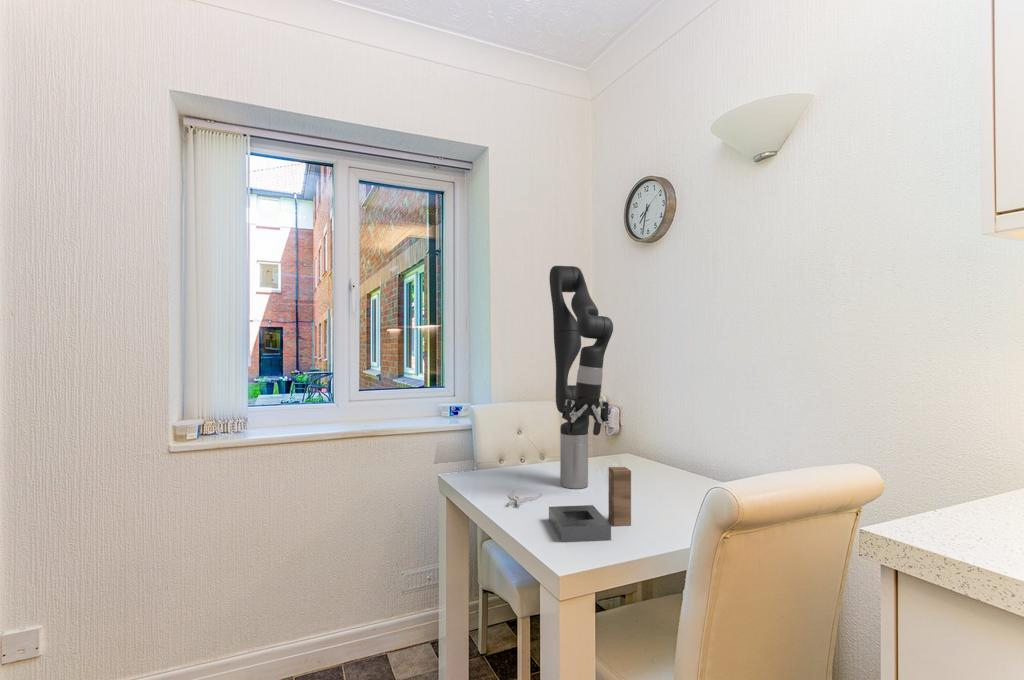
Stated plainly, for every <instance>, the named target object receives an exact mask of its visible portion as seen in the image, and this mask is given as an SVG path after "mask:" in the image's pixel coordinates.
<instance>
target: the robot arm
mask: <svg viewBox="0 0 1024 680" xmlns="http://www.w3.org/2000/svg"><path fill="white" fill-rule="evenodd" d="M548 277H549V288H550V289H549V291H550V296H551V297H550V298H551V304H552V319H553V342H554V343H553V345H554V358H555V405H556V409H557V411H558V412H559V413H560V414H561V415H562V416H561V418H562V419H564V420H565V421H566V422H564V423H562V424H561V425H560V435H559V436H560V438H559V442H560V443H559V444H560V447H559V448H560V449H559V450H560V455H559V457H560V461H559V465H560V466H559V467H560V468H559V469H560V473H559V477H560V478H559V481H560V482H559V483H560V486H561V487H563V488H567V489H584V488H587V487H588V486H589V428H590V427H589V426H590V416H591V417H592V418H593V420H594V422H593V431H592V433H593V436H599V434H600V433H601V429H602V423H604V422H606V423H607V422H608V419H609V402H607V401H605V400H601V401H600V398H601V392H602V384H603V377H604V376H603V374H604V373H603V367H604V360H605V358H604V357H605V352H606V350H607V348H608V346H609V343H610V341H611V338H612V335H613V334H614V333H613V332H614V324H613V321H612V319H611V318H610V317H608V316H605V315H604V316H603V315H599V309H598V307H597V305H596V304H595V302H594V301H593V299H592V297H591V295H590V292H589V290H588V286H587V282H586V279H585V277H584V274H583V272H582V269H581V268H579V267H577V266H572V265H553V266H552V267H551V269H550V270H549V276H548ZM563 293H574V294H573V296H572V298H571V302H570V305H571V309H572V312H573V314H572V312H571V311H570V309H569V308H568V306H567V304H566V302H565V298H564V295H563ZM574 315H575V316H574ZM575 317H576V318H575ZM582 338H584V339H591V340H592V339H593V340H595V342H594V343H593V344H592V345H588V346H583V347H582ZM579 353H580V354H579ZM578 355H579V356H580V357H579V364H578V370H577V375H576V383H575V385H574V384H573V385H569V384H568V382H569V380H568V379H569V373H570V370H571V368H572V366H573V363H574V362H575V360H576V358H577V356H578ZM598 408H600V413H599V412H598Z"/></svg>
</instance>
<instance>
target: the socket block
mask: <svg viewBox="0 0 1024 680" xmlns="http://www.w3.org/2000/svg"><path fill="white" fill-rule="evenodd" d="M548 521H549V523H550V525H551V527H552V528H553V530H554V532H555V534H556V535H557V537H558V540H560V542H561V543H572V542H573V543H576V542H596V541H597V542H599V541H612V524H611V522H610V521H609V520H607V519H606V518H605V517H604V515H602V513H601V512H600V511H599V510H598V509H597V508H596V507H595V506H594V504H591V505H590V504H589V505H588V504H587V505H561V506H558V505H555V506H548Z"/></svg>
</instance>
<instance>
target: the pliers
mask: <svg viewBox="0 0 1024 680" xmlns="http://www.w3.org/2000/svg"><path fill="white" fill-rule="evenodd" d="M513 493H514V494H513ZM515 493H516V490H512V491H510V493H509V494H508V498H509V497H510V498H511V499H512V500H511V499H510V498H509V499H510V500H509V501H507V502H506V507H507V506H508V507H507V508H510V507H513V506H515V505H516V504H517V505H516V509H519V508H520V507H521V506H522V504H524V502H525V503H528V502H527V501H529V502H533V500H534V501H536V500H539V499H540V498H541V497H542V496H543V493H540V494H539V493H538V495H536V496H533V497H532V496H531V497H529V496H528V497H524V498H520V497H519V495H516V494H515ZM514 496H515V497H514ZM529 498H530V499H529ZM538 498H539V499H538ZM523 499H524V500H523ZM521 503H522V504H521ZM514 504H515V505H514ZM512 505H513V506H512ZM520 505H521V506H520ZM509 506H510V507H509Z"/></svg>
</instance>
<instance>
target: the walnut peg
mask: <svg viewBox="0 0 1024 680" xmlns="http://www.w3.org/2000/svg"><path fill="white" fill-rule="evenodd" d="M608 522H609V523H610V524H611V526H613V527H628V526H630V527H631V526H632V471H631V470H630V469H629V468H628V467H626V466H608Z"/></svg>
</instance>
